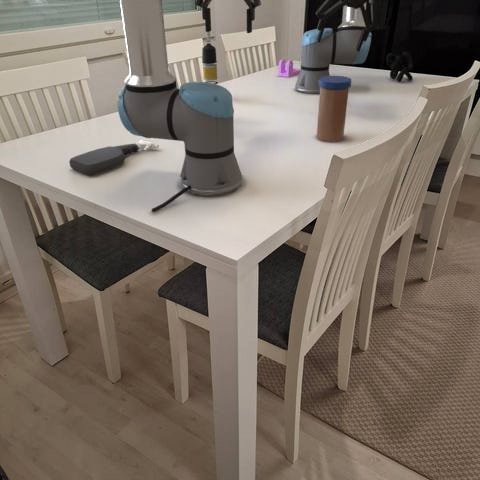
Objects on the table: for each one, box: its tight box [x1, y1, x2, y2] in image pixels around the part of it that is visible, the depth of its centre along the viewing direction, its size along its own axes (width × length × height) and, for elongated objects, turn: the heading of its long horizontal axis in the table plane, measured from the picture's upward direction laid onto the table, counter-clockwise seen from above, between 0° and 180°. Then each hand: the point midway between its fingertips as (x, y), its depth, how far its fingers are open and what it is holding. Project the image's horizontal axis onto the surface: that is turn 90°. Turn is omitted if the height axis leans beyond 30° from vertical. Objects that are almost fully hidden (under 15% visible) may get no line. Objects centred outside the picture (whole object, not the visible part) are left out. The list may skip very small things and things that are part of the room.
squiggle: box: [385, 51, 414, 83], centre depth 198 cm, size 11×10×15 cm
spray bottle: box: [68, 139, 160, 177], centre depth 124 cm, size 3×11×24 cm
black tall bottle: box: [201, 31, 219, 85], centre depth 171 cm, size 6×6×30 cm
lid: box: [319, 75, 352, 90], centre depth 129 cm, size 9×9×2 cm
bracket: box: [277, 59, 301, 78], centre depth 213 cm, size 13×6×7 cm, turn 143°
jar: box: [316, 87, 350, 143], centre depth 133 cm, size 8×8×17 cm
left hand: (228, 32), depth 139 cm, fingers open, 13 cm apart
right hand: (337, 45), depth 147 cm, fingers open, 13 cm apart
